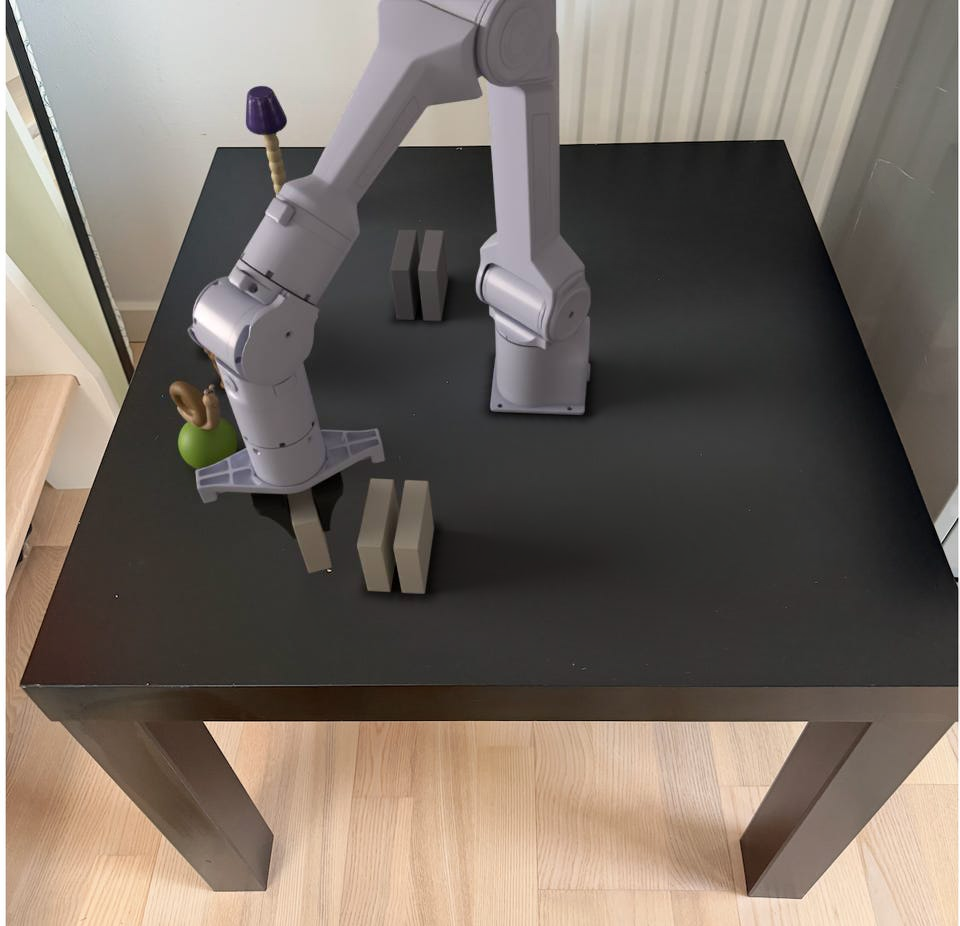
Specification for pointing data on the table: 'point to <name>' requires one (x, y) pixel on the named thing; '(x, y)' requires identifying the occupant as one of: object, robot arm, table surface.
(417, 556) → the beige square block
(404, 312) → the grey square slab
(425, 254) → the gray square slab
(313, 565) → the beige square slab
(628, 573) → the table surface
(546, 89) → the robot arm
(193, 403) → the snail figurine
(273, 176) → the toy lamp
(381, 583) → the beige square block
